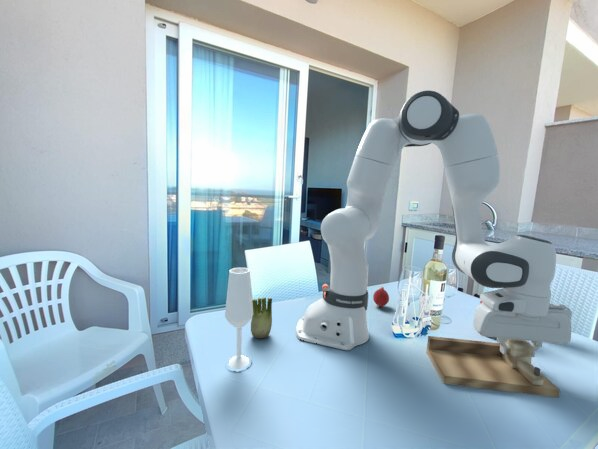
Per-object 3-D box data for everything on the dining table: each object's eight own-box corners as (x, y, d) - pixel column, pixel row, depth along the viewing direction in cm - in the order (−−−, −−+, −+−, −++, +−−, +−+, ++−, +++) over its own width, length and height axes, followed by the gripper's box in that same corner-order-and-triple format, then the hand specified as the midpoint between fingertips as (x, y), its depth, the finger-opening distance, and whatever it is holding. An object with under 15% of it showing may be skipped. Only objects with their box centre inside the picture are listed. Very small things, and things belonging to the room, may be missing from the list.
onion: (386, 311, 99) (387, 291, 97) (370, 307, 102) (372, 287, 100) (389, 306, 103) (391, 286, 102) (375, 302, 106) (376, 283, 105)
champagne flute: (243, 351, 71) (243, 264, 68) (257, 364, 67) (259, 271, 63) (219, 362, 67) (219, 269, 64) (234, 376, 62) (234, 276, 59)
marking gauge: (527, 384, 60) (531, 359, 59) (502, 358, 69) (504, 336, 68) (547, 386, 59) (551, 361, 59) (519, 359, 69) (521, 337, 68)
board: (443, 383, 62) (446, 362, 61) (426, 352, 74) (428, 334, 73) (558, 397, 59) (562, 375, 58) (521, 362, 71) (523, 344, 70)
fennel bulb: (272, 333, 81) (273, 295, 80) (268, 342, 76) (269, 302, 75) (253, 331, 82) (254, 294, 80) (249, 340, 77) (249, 300, 75)
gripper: (561, 300, 67) (552, 351, 68) (473, 293, 69) (467, 342, 71) (584, 311, 60) (574, 367, 62) (487, 303, 63) (479, 357, 65)
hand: (516, 354), depth 67 cm, fingers closed on marking gauge, 4 cm apart
